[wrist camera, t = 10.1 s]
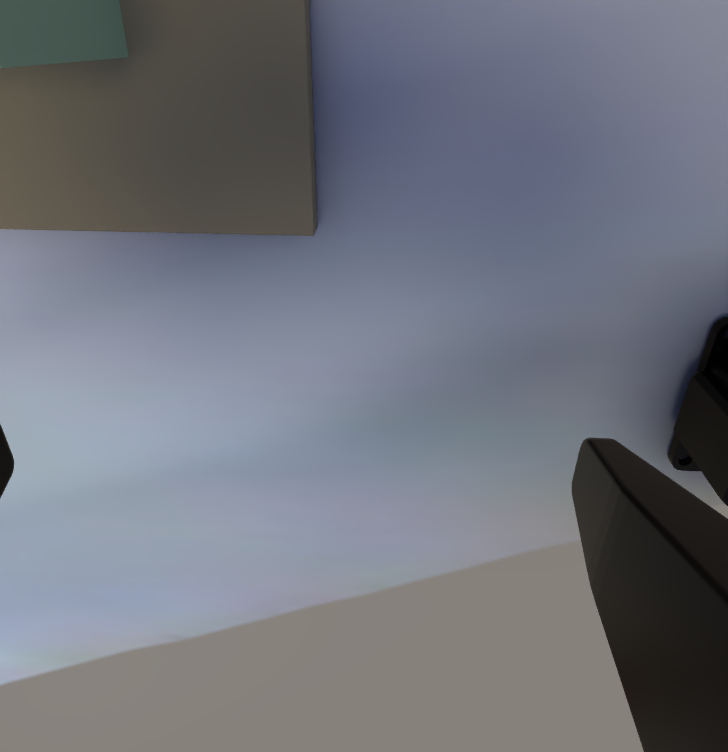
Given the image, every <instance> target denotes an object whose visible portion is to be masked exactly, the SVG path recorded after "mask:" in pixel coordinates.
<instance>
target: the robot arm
mask: <svg viewBox="0 0 728 752" xmlns="http://www.w3.org/2000/svg"><path fill="white" fill-rule="evenodd" d="M727 330H728V317H724V318H722V319H720V320H718V321H717V322H716V323H715V324H714V326H713V327H712V329H711V332H710V335H709V338H708V341H707V344H706V346H705V349H704V352H703V355H702V358H701V361H700V364H699V367H698V369H697V372H696V373H695V374H694V375H693V376H692V378H691V380H690V383H689V386H688V389H687V392H686V395H685V398H684V401H683V403H682V406H681V409H680V412H679V415H678V418H677V421H676V424H675V427H674V432H675V436H674V439H673V441H672V444H671V447H670V450H669V453H668V459H669V461H670V462H671V464H672V465H673V467H674V468H676V469H677V470H683V471H702V473H703V474H704V476H705V477H706V479H707V480H708V482H709V483H710V484H711V486H712V487H713V489H714V490H715V492H716V493H717V495H718V496H719V497H720V499H721V500H722V501H723V502H724V503H725V504H726V505H727V506H728V335H727V336H724V334H725V332H726V331H727ZM686 455H687V456H686ZM683 456H686V457H685V458H683V459H680V458H681V457H683ZM13 469H14V459H13V455H12V453H11V450H10V448H9V445H8V442H7V440H6V437H5V435H4V432H3V429H2V427H1V425H0V498H1V496H2V494H3V492H4V490H5V488H6V486H7V484H8V482H9V480H10V478H11V476H12V473H13ZM572 496H573V502H574V507H575V512H576V517H577V522H578V527H579V532H580V537H581V542H582V547H583V552H584V557H585V562H586V567H587V572H588V576H589V581H590V586H591V589H592V593H593V596H594V599H595V602H596V606H597V609H598V612H599V615H600V618H601V621H602V624H603V627H604V630H605V633H606V637H607V640H608V643H609V646H610V649H611V652H612V655H613V658H614V661H615V664H616V667H617V670H618V673H619V676H620V679H621V682H622V686H623V689H624V692H625V695H626V698H627V701H628V704H629V707H630V710H631V713H632V716H633V719H634V722H635V726H636V729H637V732H638V735H639V737H640V741H641V744H642V747H643V750H644V752H728V519H727V518H726V517H724V516H723V515H721V514H720V513H718V512H717V511H716V510H714V509H713V508H711V507H710V506H709V505H707V504H706V503H704V502H703V501H701V500H700V499H699V498H697V497H696V496H694V495H693V494H691V493H690V492H689V491H687V490H686V489H684V488H683V487H681V486H680V485H679V484H677V483H676V482H674V481H673V480H671V479H670V478H669V477H667V476H666V475H664V474H663V473H661V472H660V471H659V470H657V469H656V468H654V467H653V466H651V465H650V464H649V463H647V462H646V461H644V460H643V459H641V458H640V457H639V456H637V455H636V454H634V453H633V452H631V451H630V450H629V449H627V448H626V447H624V446H623V445H622V444H620V443H619V442H617V441H616V440H614V439H610V438H587V439H585V440H584V441H583V443H582V444H581V447H580V451H579V455H578V459H577V463H576V467H575V471H574V476H573V480H572Z"/></svg>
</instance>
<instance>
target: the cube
mask: <svg viewBox="0 0 728 752" xmlns="http://www.w3.org/2000/svg"><path fill="white" fill-rule="evenodd" d="M126 57H129V55H128V49H127V44H126V38H125V32H124V26H123V20H122V15H121V9H120V3H119V0H0V68H11V67H23V66H34V65H46V64H57V63H69V62H80V61H92V60H103V59H114V58H126Z"/></svg>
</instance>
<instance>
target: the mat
mask: <svg viewBox="0 0 728 752" xmlns="http://www.w3.org/2000/svg"><path fill="white" fill-rule="evenodd" d="M119 3H120V9H121V15H122V20H123V26H124V32H125V38H126V44H127V49H128V55H129V57H126V58H114V59H103V60H92V61H80V62H69V63H57V64H46V65H34V66H23V67H11V68H0V229H31V230H76V231H122V232H167V233H212V234H258V235H303V236H314V233H315V231H316V229H317V203H316V174H315V146H314V117H313V88H312V60H311V31H310V3H309V0H119Z"/></svg>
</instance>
